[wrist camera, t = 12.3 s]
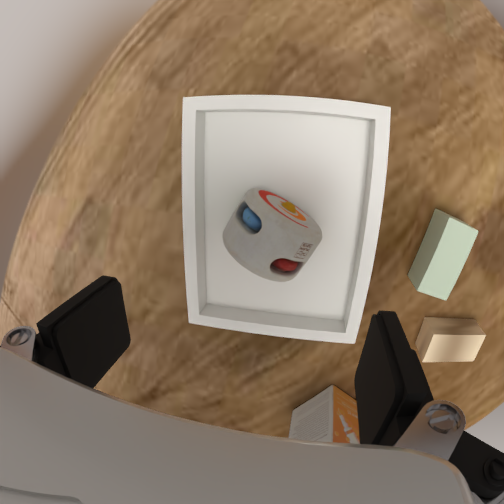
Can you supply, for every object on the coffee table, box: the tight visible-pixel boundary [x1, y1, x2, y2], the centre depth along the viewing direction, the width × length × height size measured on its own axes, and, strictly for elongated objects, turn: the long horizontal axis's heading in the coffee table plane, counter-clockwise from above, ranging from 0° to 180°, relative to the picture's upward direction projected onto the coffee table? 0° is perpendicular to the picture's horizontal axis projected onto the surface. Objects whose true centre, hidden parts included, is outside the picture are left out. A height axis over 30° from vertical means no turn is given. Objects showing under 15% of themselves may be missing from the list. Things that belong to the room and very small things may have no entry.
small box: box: [289, 385, 360, 444], centre depth 23 cm, size 8×6×13 cm
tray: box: [182, 95, 391, 344], centre depth 22 cm, size 18×14×2 cm
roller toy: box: [222, 188, 322, 282], centre depth 20 cm, size 4×6×6 cm
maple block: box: [415, 317, 486, 362], centre depth 22 cm, size 6×3×3 cm, turn 88°
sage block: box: [408, 208, 478, 300], centre depth 20 cm, size 6×3×3 cm, turn 166°
